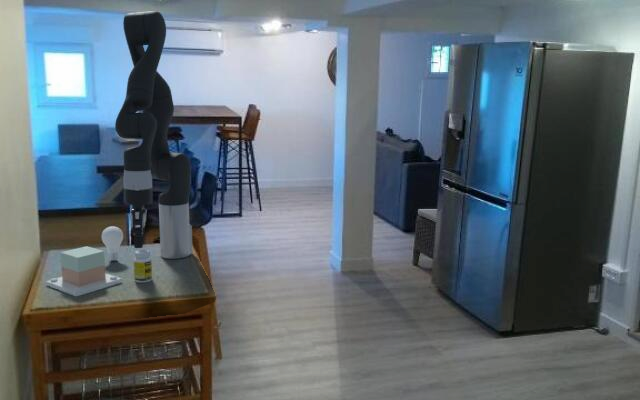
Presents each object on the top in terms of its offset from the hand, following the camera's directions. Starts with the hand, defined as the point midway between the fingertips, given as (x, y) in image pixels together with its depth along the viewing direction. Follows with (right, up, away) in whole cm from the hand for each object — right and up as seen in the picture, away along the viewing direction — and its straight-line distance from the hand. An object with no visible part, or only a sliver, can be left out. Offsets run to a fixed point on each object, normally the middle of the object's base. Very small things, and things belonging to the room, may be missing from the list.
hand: (139, 243), depth 167 cm
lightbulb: (-14, -7, +20) cm, 25 cm away
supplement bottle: (0, -11, +2) cm, 11 cm away
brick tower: (-15, -11, -2) cm, 18 cm away
